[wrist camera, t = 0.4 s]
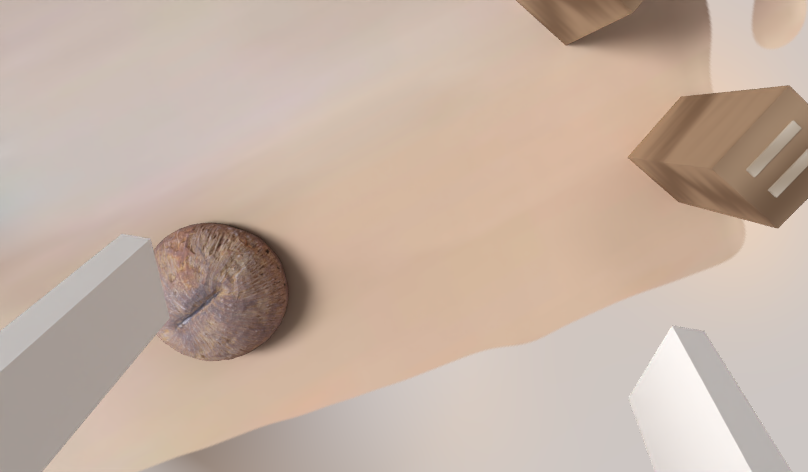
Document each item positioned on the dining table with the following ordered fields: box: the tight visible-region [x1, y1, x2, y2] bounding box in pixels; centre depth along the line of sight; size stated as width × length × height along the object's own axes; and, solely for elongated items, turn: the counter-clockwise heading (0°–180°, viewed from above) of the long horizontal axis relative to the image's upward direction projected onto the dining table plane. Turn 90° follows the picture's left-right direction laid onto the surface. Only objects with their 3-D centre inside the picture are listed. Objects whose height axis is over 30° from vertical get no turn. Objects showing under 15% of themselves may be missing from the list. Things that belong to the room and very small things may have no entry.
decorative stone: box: [154, 223, 288, 361], centre depth 36 cm, size 12×12×6 cm
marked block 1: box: [628, 86, 808, 228], centre depth 31 cm, size 6×6×10 cm
